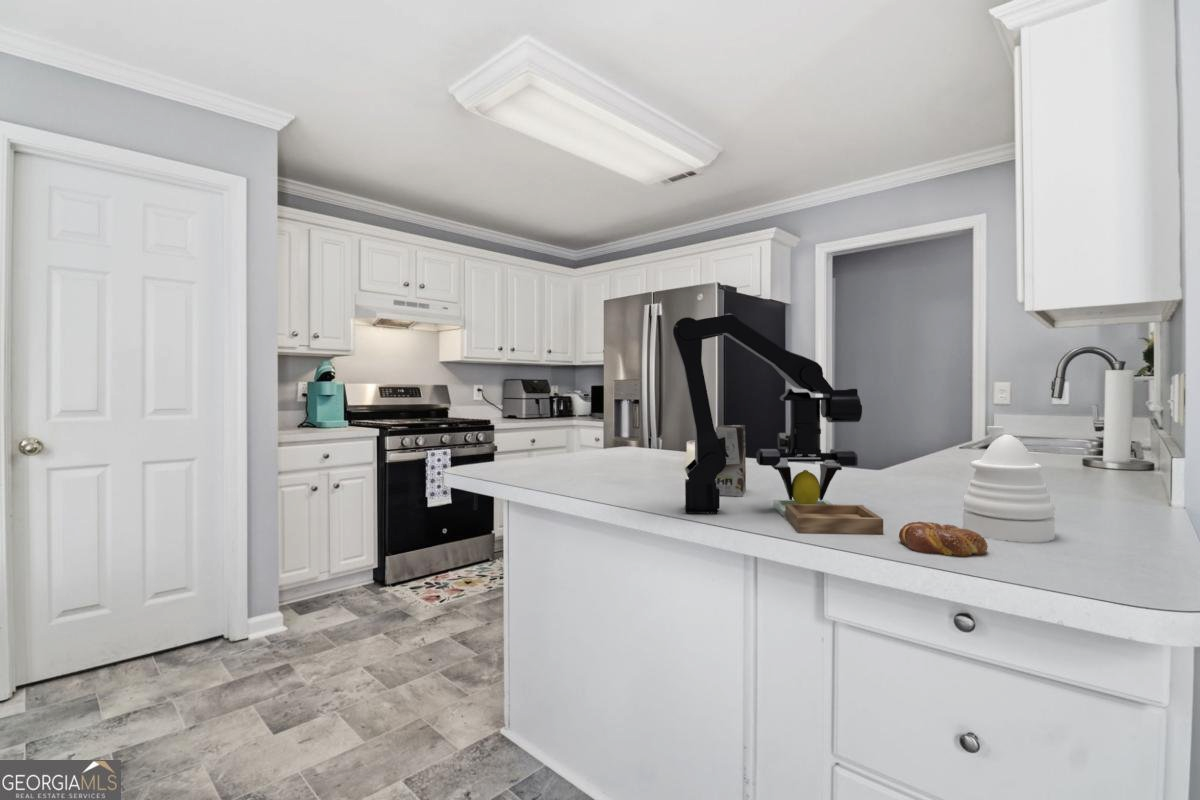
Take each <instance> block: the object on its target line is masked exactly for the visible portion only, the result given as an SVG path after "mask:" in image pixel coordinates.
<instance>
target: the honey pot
mask: <svg viewBox="0 0 1200 800" xmlns="http://www.w3.org/2000/svg"><path fill="white" fill-rule="evenodd" d="M986 430H987V433H988V435H989V436H990V437H991V438H993V439H994V440H993V441H992V442H991V443H990V444H989V445H988V447H987V449H986V450H985V451H984V452H983V454H982V457H981V458H980V459H976V460H975V459H974V460H972V461H970V466H971V468H974V469H975V471H974V473H973V475H972V478H971V479H970V480H969V486H968V487H967V492H966V494H965V495H964V496H963V499H962V502H963V504H962V508H963V509H962V529H968V530H970V531H974V532H976V533H978V534H979V535H981V536H983V538H985V537H988V538H987V539H990V538H993V539H992V540H996V539H1000V540H999V541H1003V540H1008V541H1007V542H1013V541H1019V542H1018V543H1029V542H1034V543H1046V542H1045V541H1048V542H1051V541H1050V540H1052V541H1054V540H1055V536H1056V535H1055V534H1056V533H1055V532H1056V525H1055V524H1056V521H1055V520H1056V519H1055V517H1054V516H1055V511H1056V509H1055V504H1054V503H1053V501H1052V500H1051V499H1050V498H1051V495H1050V493H1049V492H1048V490H1047V488H1048V485H1047V484H1046V483H1045V482H1044V480H1043V478H1042V474H1041V473H1040V471H1041V470H1042V469H1043V466H1042V465H1041V464H1039V463H1037V462H1035V460H1034V458H1033V456H1032V455H1031V453H1030V452H1029V450H1028V449H1027V447H1026V446H1025V444H1023V443H1022V442H1021V440H1020V439H1018V438H1017V437H1015V436H1014V435H1011V434H1004V433H1005V426H999V425H994V426H993V425H991V426H990V425H989V426H986ZM1053 539H1054V540H1053Z"/></svg>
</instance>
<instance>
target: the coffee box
mask: <svg viewBox="0 0 1200 800" xmlns="http://www.w3.org/2000/svg"><path fill="white" fill-rule="evenodd" d="M715 432H716V434H717V436H719V435H722V436H724V437H725V442H726V451H727V454H728V455H729V457H726V466H725V468H724V469H723V471H722V472H721V473H719V474H717V477H716V487H719V493H720V496H726V497H727V496H728V497H743V496H744V494H745V493H746V490H747V489H746V488H747V482H746V480H747V478H746V477H747V475H746V474H747V473H746V472H747V471H746V469H747V468H746V464H747V463H746V425H745V424H732V425H731V424H729V425H728V424H727V425H718V426H716V427H715Z"/></svg>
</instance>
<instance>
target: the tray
mask: <svg viewBox="0 0 1200 800" xmlns="http://www.w3.org/2000/svg"><path fill="white" fill-rule="evenodd" d="M785 519H786V520H787V521H788V522H789V524H790V525H791V526H792V527H793V529H794V530H795V531H796V530H797V531H796V532H797V533H799V534H840V533H850V534H849V535H852V534H853V535H854V534H855V535H884V519H883V518H882V517H881V516H879V515H878V514H876V513H875V512H873V511H872V510H871V509H869V508H867V507H865V506H864V505H862V504H832V505H825V504H786V517H785Z"/></svg>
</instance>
